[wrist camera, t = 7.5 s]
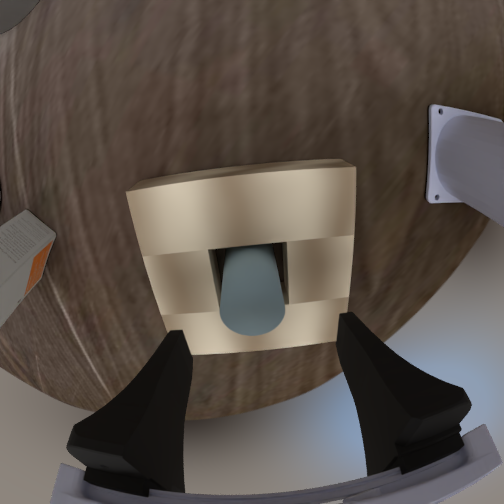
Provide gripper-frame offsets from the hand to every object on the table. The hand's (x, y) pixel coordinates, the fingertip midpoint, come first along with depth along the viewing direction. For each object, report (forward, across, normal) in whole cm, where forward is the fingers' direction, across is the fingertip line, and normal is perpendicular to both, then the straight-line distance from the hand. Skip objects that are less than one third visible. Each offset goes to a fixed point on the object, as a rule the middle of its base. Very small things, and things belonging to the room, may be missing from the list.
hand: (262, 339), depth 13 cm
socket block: (+10, 0, +1) cm, 10 cm away
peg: (+10, 0, +1) cm, 10 cm away
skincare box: (+10, +20, -3) cm, 22 cm away
